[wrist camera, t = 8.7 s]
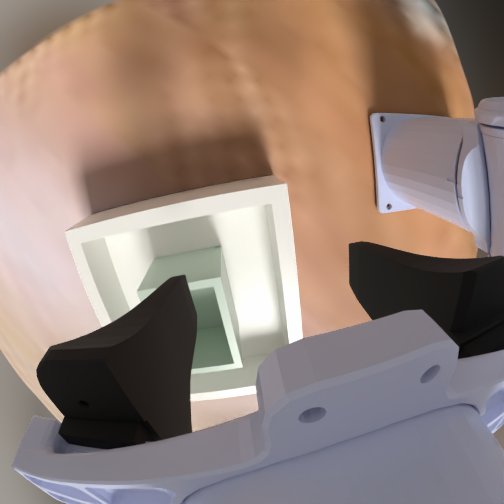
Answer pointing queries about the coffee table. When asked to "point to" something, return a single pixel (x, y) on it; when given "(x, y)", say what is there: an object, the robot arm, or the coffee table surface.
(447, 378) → the robot arm
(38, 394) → the coffee table surface
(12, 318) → the coffee table surface
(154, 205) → the white shallow tray
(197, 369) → the small crate
